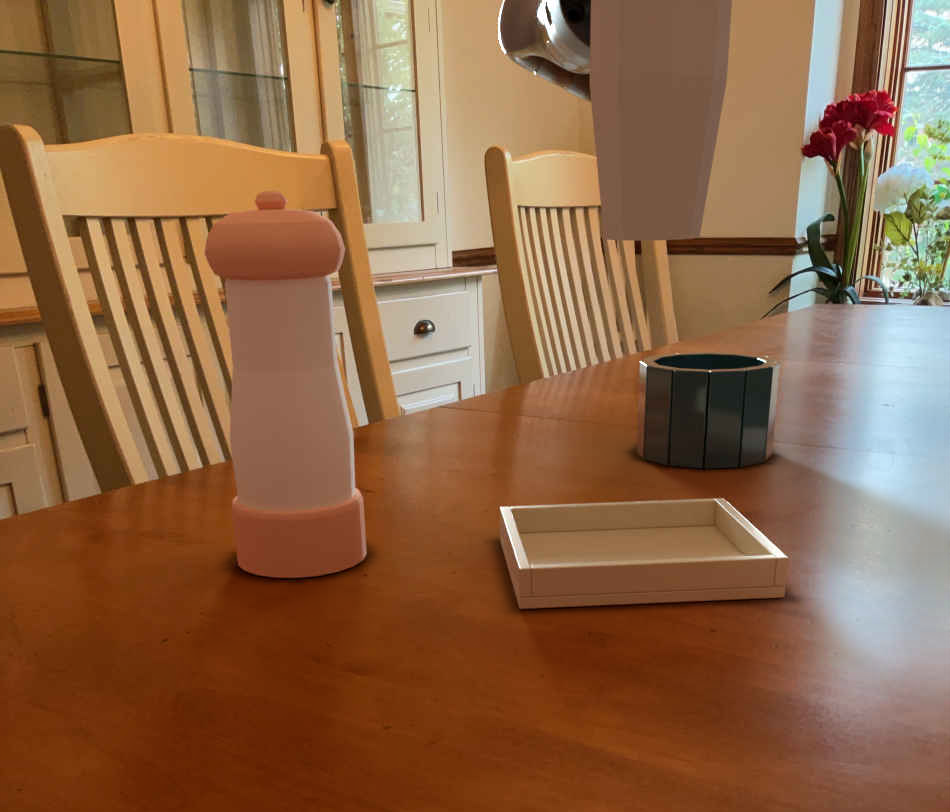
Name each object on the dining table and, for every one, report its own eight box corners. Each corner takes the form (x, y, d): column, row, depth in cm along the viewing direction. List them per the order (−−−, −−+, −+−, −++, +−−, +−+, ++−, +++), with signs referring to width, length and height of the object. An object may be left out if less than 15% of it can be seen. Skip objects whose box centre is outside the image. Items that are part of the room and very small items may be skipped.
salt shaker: (214, 556, 60) (169, 193, 52) (322, 530, 64) (295, 191, 57) (279, 588, 54) (239, 190, 47) (392, 557, 59) (372, 188, 51)
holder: (747, 437, 86) (754, 350, 83) (788, 465, 77) (797, 368, 74) (626, 442, 85) (629, 354, 83) (653, 471, 76) (658, 373, 73)
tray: (721, 532, 62) (723, 497, 61) (784, 597, 52) (788, 557, 51) (499, 541, 61) (499, 506, 60) (519, 609, 51) (519, 568, 50)
